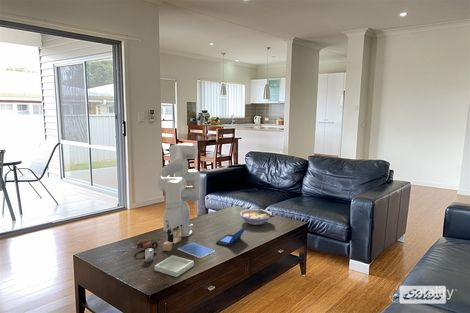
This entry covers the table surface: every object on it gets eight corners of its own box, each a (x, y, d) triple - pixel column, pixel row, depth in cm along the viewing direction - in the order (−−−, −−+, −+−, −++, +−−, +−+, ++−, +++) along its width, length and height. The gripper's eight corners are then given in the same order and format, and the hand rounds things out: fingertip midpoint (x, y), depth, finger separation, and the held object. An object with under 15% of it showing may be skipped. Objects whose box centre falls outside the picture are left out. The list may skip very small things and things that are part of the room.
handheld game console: (228, 236, 214) (228, 222, 213) (246, 240, 208) (247, 226, 207) (215, 244, 201) (215, 229, 200) (234, 249, 194) (234, 234, 193)
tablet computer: (176, 250, 193) (176, 247, 193) (193, 243, 203) (192, 241, 203) (199, 259, 181) (199, 257, 181) (215, 252, 190) (215, 250, 190)
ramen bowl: (234, 220, 245) (234, 209, 244) (261, 216, 254) (262, 206, 253) (248, 231, 222) (248, 219, 221) (278, 227, 231) (278, 215, 230)
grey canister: (149, 258, 181) (149, 247, 181) (155, 259, 179) (155, 249, 178) (143, 261, 178) (143, 250, 177) (149, 263, 175) (149, 252, 175)
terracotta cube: (165, 247, 195) (165, 241, 194) (172, 248, 194) (172, 241, 194) (163, 250, 191) (163, 244, 191) (170, 251, 191) (169, 244, 190)
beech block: (173, 238, 172) (173, 226, 171) (181, 240, 169) (180, 228, 168) (167, 241, 167) (166, 229, 166) (174, 243, 165) (174, 231, 164)
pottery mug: (139, 258, 181) (134, 244, 183) (140, 259, 190) (135, 245, 192) (160, 250, 185) (156, 236, 187) (160, 251, 194) (156, 237, 196)
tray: (172, 259, 180) (172, 255, 179) (193, 265, 173) (193, 260, 173) (154, 270, 168) (154, 265, 167) (176, 277, 161) (176, 272, 161)
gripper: (178, 199, 175) (178, 233, 177) (155, 208, 160) (156, 244, 163) (189, 201, 171) (190, 235, 174) (168, 210, 157) (168, 247, 159)
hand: (174, 239), depth 168 cm, fingers closed on beech block, 5 cm apart
